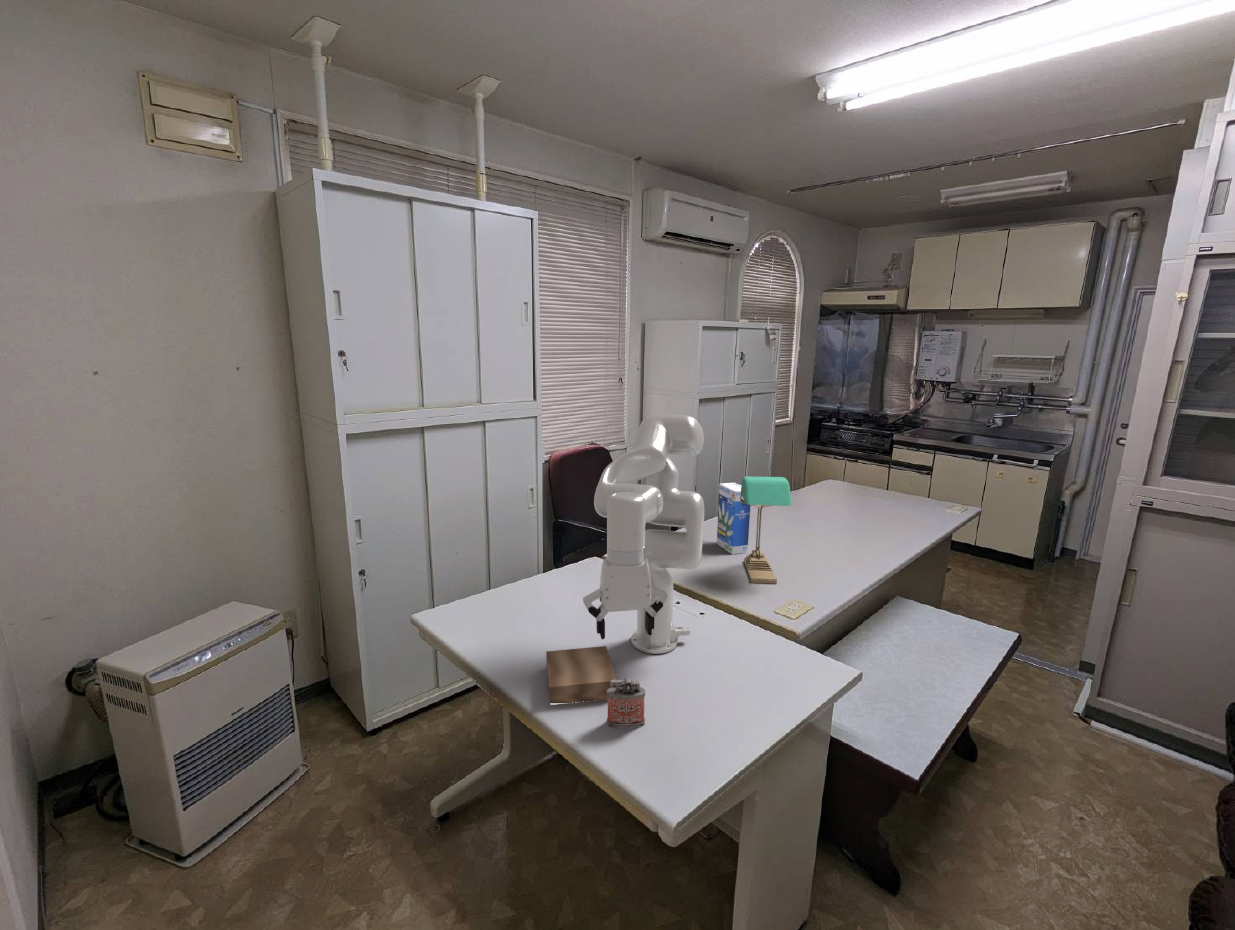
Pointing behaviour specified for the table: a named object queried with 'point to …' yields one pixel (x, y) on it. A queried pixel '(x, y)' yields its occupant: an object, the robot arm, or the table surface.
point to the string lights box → (732, 519)
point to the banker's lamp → (756, 494)
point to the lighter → (625, 704)
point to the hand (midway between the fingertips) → (625, 633)
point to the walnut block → (579, 674)
